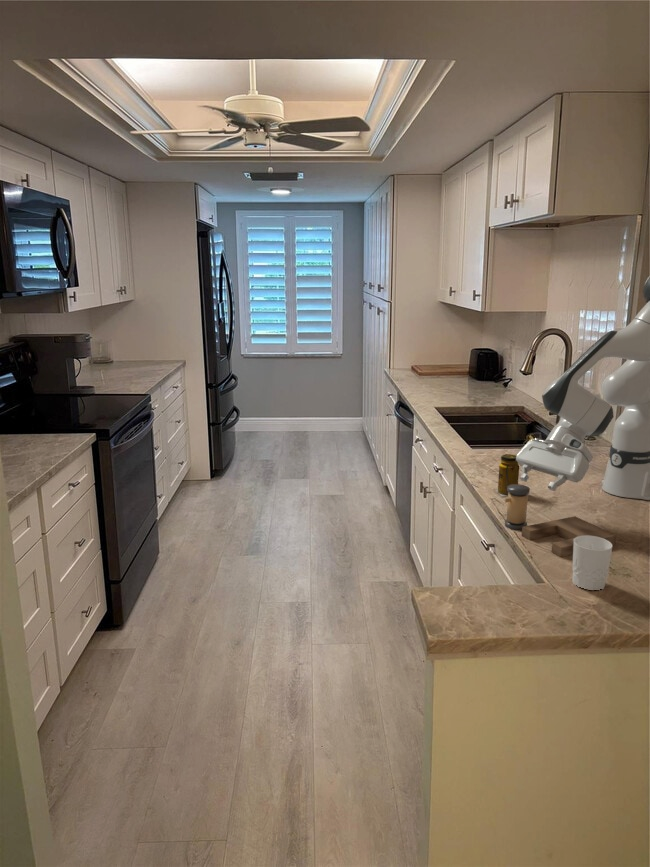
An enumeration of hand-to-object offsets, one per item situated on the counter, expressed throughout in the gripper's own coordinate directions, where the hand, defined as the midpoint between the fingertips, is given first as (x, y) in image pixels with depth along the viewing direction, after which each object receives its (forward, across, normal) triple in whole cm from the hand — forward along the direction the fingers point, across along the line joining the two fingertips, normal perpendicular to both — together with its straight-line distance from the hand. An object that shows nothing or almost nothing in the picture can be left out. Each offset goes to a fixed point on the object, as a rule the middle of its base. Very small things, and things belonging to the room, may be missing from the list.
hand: (536, 484), depth 171 cm
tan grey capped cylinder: (+12, -1, +4) cm, 13 cm away
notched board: (+10, +13, +6) cm, 17 cm away
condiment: (-2, -20, +18) cm, 27 cm away
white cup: (+21, +30, -5) cm, 37 cm away
